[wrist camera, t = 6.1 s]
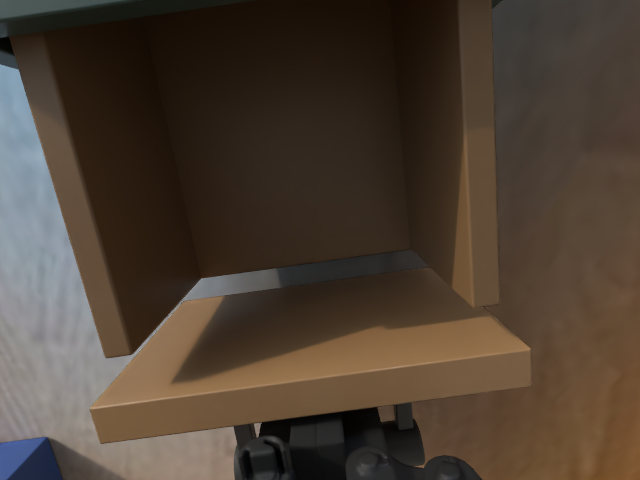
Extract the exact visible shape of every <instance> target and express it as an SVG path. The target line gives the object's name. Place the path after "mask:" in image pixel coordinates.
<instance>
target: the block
mask: <svg viewBox="0 0 640 480" xmlns="http://www.w3.org/2000/svg"><path fill="white" fill-rule="evenodd" d="M0 480H63V479H62V476H61V473H60V471H59V468H58V465H57V462H56V459H55V457H54V454H53V451H52V448H51V446H50V443H49V440H48V437H42V438H35V439H27V440H20V441H12V442H5V443H0Z"/></svg>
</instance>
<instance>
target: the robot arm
mask: <svg viewBox="0 0 640 480" xmlns="http://www.w3.org/2000/svg"><path fill="white" fill-rule="evenodd" d="M237 458H238V462H239V466H240V471H241V475H242V479H243V480H482V479H481V478H480V477H479V475H478V474H477V473H476V472H475V471H474V469H473V468H472V467H471V466H470V465H468V464H467V463H466V462H465V461H463V460H461V459H459V458H457V457H453V456H446V455H444V456H438V457H434V458H433V459H431V460H429V461H428V462H427V464H426V465H425V467H424V468H419V467H413V466H409V465H405V464H403V463H401V462H399V461H398V460H396V459H395V458H394V457H393V456H392V455H391V454H390V452H389V450H388V448H387V444H386V440H385V436H384V432H383V428H382V425H381V421H380V417H379V413H378V409H377V407H373V408H366V409H358V410H351V411H343V412H336V413H328V414H321V415H313V416H306V417H298V418H291V419H283V420H276V421H268V422H262V424H261V427H260V433H259V437H257V438H255V439H253V440H251V441H250V442H248V443H247V444H246V445H245V446H244V447H243V448H242V449H241V450H240V452H239V454H238V456H237Z"/></svg>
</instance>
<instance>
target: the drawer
mask: <svg viewBox="0 0 640 480" xmlns="http://www.w3.org/2000/svg"><path fill="white" fill-rule="evenodd" d="M9 39H10V42H11V45H12V49H13V52H14V55H15V59H16V62H17V65H18V69H19V72H20V75H21V79H22V82H23V85H24V89H25V92H26V95H27V99H28V102H29V105H30V109H31V112H32V115H33V119H34V122H35V125H36V129H37V132H38V135H39V139H40V142H41V145H42V149H43V152H44V155H45V159H46V162H47V165H48V169H49V172H50V175H51V179H52V182H53V185H54V189H55V192H56V195H57V199H58V202H59V205H60V209H61V212H62V215H63V219H64V222H65V225H66V229H67V232H68V235H69V239H70V242H71V245H72V249H73V252H74V255H75V259H76V262H77V265H78V269H79V272H80V275H81V279H82V282H83V285H84V289H85V292H86V295H87V299H88V302H89V305H90V309H91V312H92V315H93V319H94V322H95V325H96V329H97V332H98V335H99V339H100V342H101V345H102V349H103V352H104V355H105V357H106V358H113V357H120V356H127V355H132V354H133V353H134V352H135V351H136V350H137V349H138V348H139V347H140V346H141V344H142V343H143V342H144V341H145V340H146V339H147V338H148V337H149V336H150V334H151V333H152V332H153V331H154V330H155V329H156V328H157V327H158V326H159V325H160V323H161V322H162V321H163V320H164V319H165V318H166V317H167V316H168V315H169V313H170V312H171V311H172V310H173V309H174V308H175V307H176V306H177V305H178V303H179V302H180V301H181V300H182V299H183V298H184V297H185V296H186V295H187V293H188V292H189V291H190V290H191V289H192V288H193V287H194V286H195V285H196V283H197V282H198V281H199V280H200V279H201V278H208V277H215V276H222V275H230V274H237V273H244V272H251V271H258V270H266V269H273V268H280V267H287V266H294V265H302V264H309V263H316V262H323V261H331V260H338V259H345V258H352V257H359V256H367V255H374V254H381V253H388V252H395V251H403V250H410V249H412V250H413V251H414V252H415V253H416V254H417V255H418V256H419V257H420V258H421V259H422V260H423V261H424V262H425V263H426V264H427V265H428V266H429V267H428V268H421V269H414V270H407V271H399V272H392V273H385V274H378V275H370V276H363V277H356V278H349V279H341V280H334V281H327V282H320V283H312V284H305V285H298V286H291V287H283V288H276V289H269V290H262V291H254V292H247V293H240V294H233V295H225V296H218V297H211V298H204V299H196V300H189V301H184V302H183V303H182V304H181V305H180V306H179V307H178V308H177V310H176V311H175V312H174V313H173V314H172V315H171V316H170V318H169V319H168V320H167V321H166V322H165V323H164V324H163V325H162V327H161V328H160V329H159V330H158V331H157V332H156V333H155V335H154V336H153V337H152V338H151V339H150V340H149V341H148V343H147V344H146V345H145V346H144V347H143V348H142V349H141V351H140V352H139V353H138V354H137V355H136V356H135V357H134V358H133V360H132V361H131V362H130V363H129V364H128V365H127V366H126V368H125V369H124V370H123V371H122V372H121V373H120V374H119V376H118V377H117V378H116V379H115V380H114V381H113V382H112V384H111V385H110V386H109V387H108V388H107V389H106V390H105V391H104V393H103V394H102V395H101V396H100V397H99V398H98V399H97V401H96V402H95V403H94V404H93V405H92V406H91V407H90V412H91V416H92V419H93V422H94V425H95V428H96V431H97V434H98V437H99V440H100V443H101V444H104V443H111V442H119V441H126V440H134V439H141V438H149V437H156V436H164V435H171V434H179V433H186V432H193V431H201V430H208V429H216V428H223V427H231V426H234V431H235V435H236V440H237V446H236V450H235V455H234V475H235V480H243V479H242V475H241V471H240V466H239V462H238V458H237V456H238V454H239V452H240V450H241V449H242V448H243V447H244V446H245V445H246V444H247V443H248V442H250V441H251V440H253V439H255V438H256V433H255V428H254V423H261V422H268V421H276V420H283V419H291V418H298V417H306V416H313V415H321V414H328V413H336V412H343V411H351V410H358V409H366V408H373V407H381V406H388V405H393V406H394V415H395V420H394V421H386V422H381V425H382V428H383V432H384V436H385V440H386V444H387V448H388V450H389V452H390V454H391V455H392V456H393V457H394V458H395V459H396V460H398V461H399V462H401V463H403V464H405V465H409V466H420V465H423V464H424V462H425V455H424V448H423V443H422V438H421V434H420V431H419V427H418V425H417V422H416V421H415V419H414V418H413V415H412V404H411V402H418V401H425V400H433V399H440V398H448V397H455V396H463V395H470V394H478V393H485V392H493V391H500V390H508V389H515V388H523V387H530V386H531V385H532V377H531V349H530V348H529V347H528V346H527V345H526V344H525V343H524V342H523V341H521V340H520V339H519V338H518V337H517V336H516V335H515V334H514V333H512V332H511V331H510V330H509V329H508V328H507V327H506V326H505V325H503V324H502V323H501V322H500V321H499V320H498V319H497V318H496V317H494V316H493V315H492V314H491V313H490V312H489V311H488V310H487V309H485V308H484V307H486V306H494V305H499V304H500V270H499V236H498V202H497V168H496V134H495V100H494V66H493V32H492V0H253V1H247V2H240V3H233V4H226V5H220V6H213V7H206V8H199V9H192V10H186V11H179V12H172V13H165V14H159V15H152V16H145V17H138V18H131V19H125V20H118V21H111V22H104V23H98V24H91V25H84V26H77V27H70V28H64V29H57V30H50V31H43V32H36V33H30V34H23V35H16V36H9Z"/></svg>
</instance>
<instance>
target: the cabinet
mask: <svg viewBox="0 0 640 480" xmlns="http://www.w3.org/2000/svg"><path fill="white" fill-rule="evenodd" d="M247 1H253V0H0V64H1V65H5V66H8V67H12V68H15V69H18V65H17V62H16V59H15V55H14V52H13V49H12V45H11V42H10V39H9V36H16V35H23V34H30V33H36V32H43V31H50V30H57V29H64V28H70V27H77V26H84V25H91V24H98V23H104V22H111V21H118V20H125V19H131V18H138V17H145V16H152V15H159V14H165V13H172V12H179V11H186V10H192V9H199V8H206V7H213V6H220V5H226V4H233V3H240V2H247ZM501 1H502V0H492V9H493V8H494V7H495V6H496V5H498V4H499V3H500V2H501Z"/></svg>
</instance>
